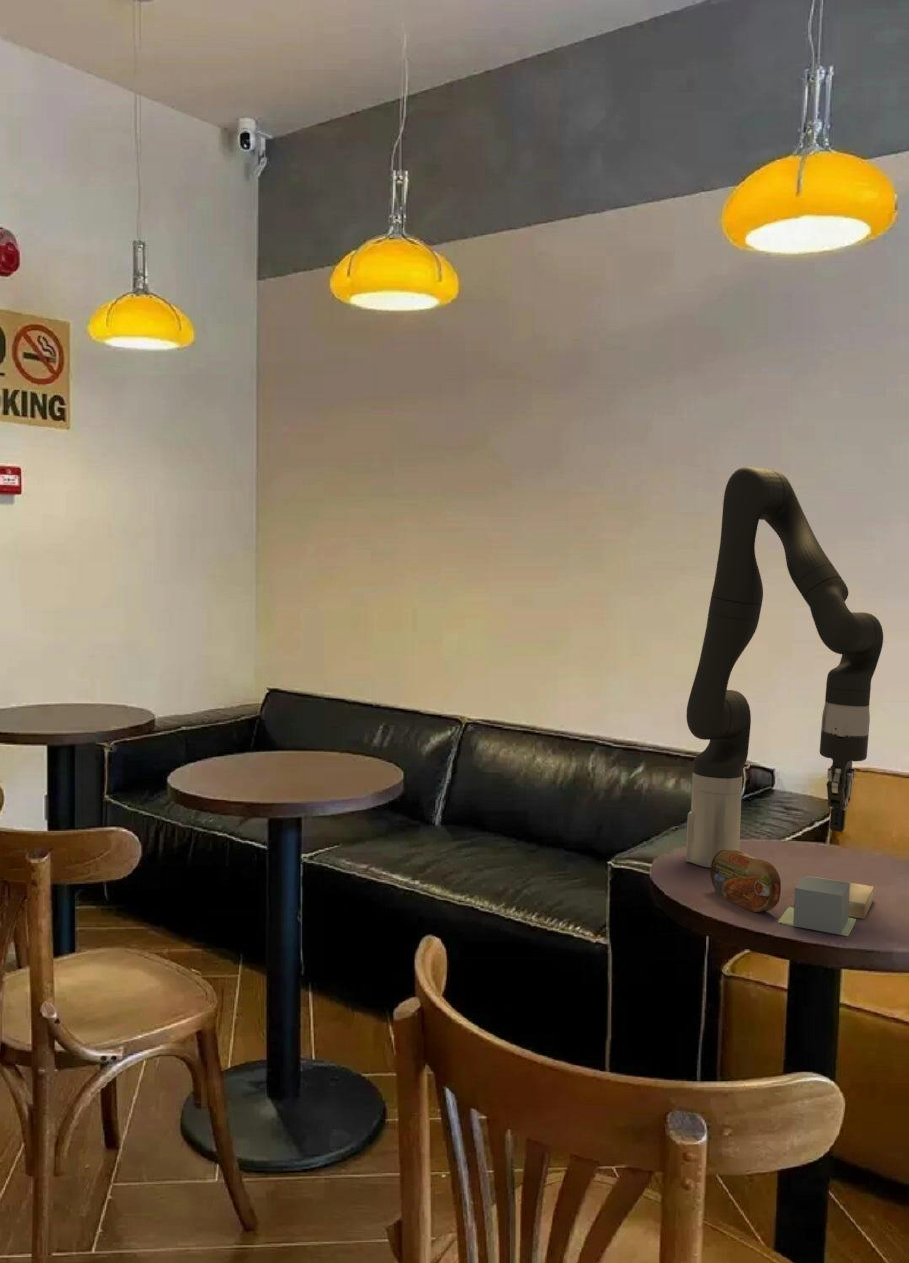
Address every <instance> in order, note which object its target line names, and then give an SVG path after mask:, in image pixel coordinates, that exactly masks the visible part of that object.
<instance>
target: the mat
mask: <svg viewBox="0 0 909 1263" xmlns="http://www.w3.org/2000/svg"><path fill="white" fill-rule="evenodd" d="M793 918H794V907H791V906H788V907H787V909H785V911H784V912H783V914H782V915H781V916H780V918H779V919H778V920H777V924H780V923H782V924H781V925H785V924H786V925H785V926H792V927H796V928H799V927H798V926H793ZM856 922H857V919H856V918H855V917H848V921H847V923H846V925H845V927H844V929H843V930H842V932H841V934H837V936H838V935H839V936H844V937H849V935H850V933H851V931H852V929H853V928H854V926H855V924H856ZM800 928H801V929H804V928H803V927H800ZM805 929H807V930H813V931H815V930H814V929H809V928H805ZM816 931H817V932H820V931H819V930H816ZM821 932H823V933H828V934H831V933H830V932H825V931H821ZM833 934H834V935H836V934H835V933H832V935H833Z"/></svg>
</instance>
